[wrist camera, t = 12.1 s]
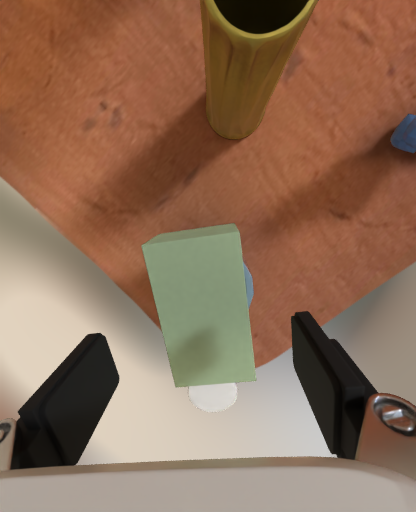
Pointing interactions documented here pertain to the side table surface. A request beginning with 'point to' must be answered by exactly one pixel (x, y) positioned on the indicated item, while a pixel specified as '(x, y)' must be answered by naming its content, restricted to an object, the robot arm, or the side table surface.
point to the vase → (247, 57)
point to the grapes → (405, 134)
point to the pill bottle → (213, 396)
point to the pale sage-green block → (202, 304)
